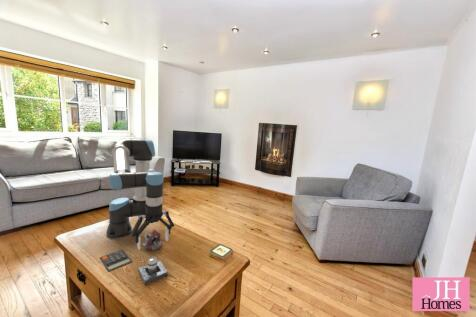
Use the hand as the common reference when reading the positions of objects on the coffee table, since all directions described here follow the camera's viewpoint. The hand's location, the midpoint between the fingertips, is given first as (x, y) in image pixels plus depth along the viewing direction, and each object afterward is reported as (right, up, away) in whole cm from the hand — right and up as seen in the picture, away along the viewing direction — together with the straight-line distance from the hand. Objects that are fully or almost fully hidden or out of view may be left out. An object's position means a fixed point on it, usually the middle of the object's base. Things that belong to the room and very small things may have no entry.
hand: (153, 243), depth 103 cm
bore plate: (-1, -16, +2) cm, 16 cm away
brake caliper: (-10, -12, +25) cm, 29 cm away
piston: (-1, -16, +2) cm, 16 cm away
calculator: (-25, -13, +10) cm, 30 cm away
